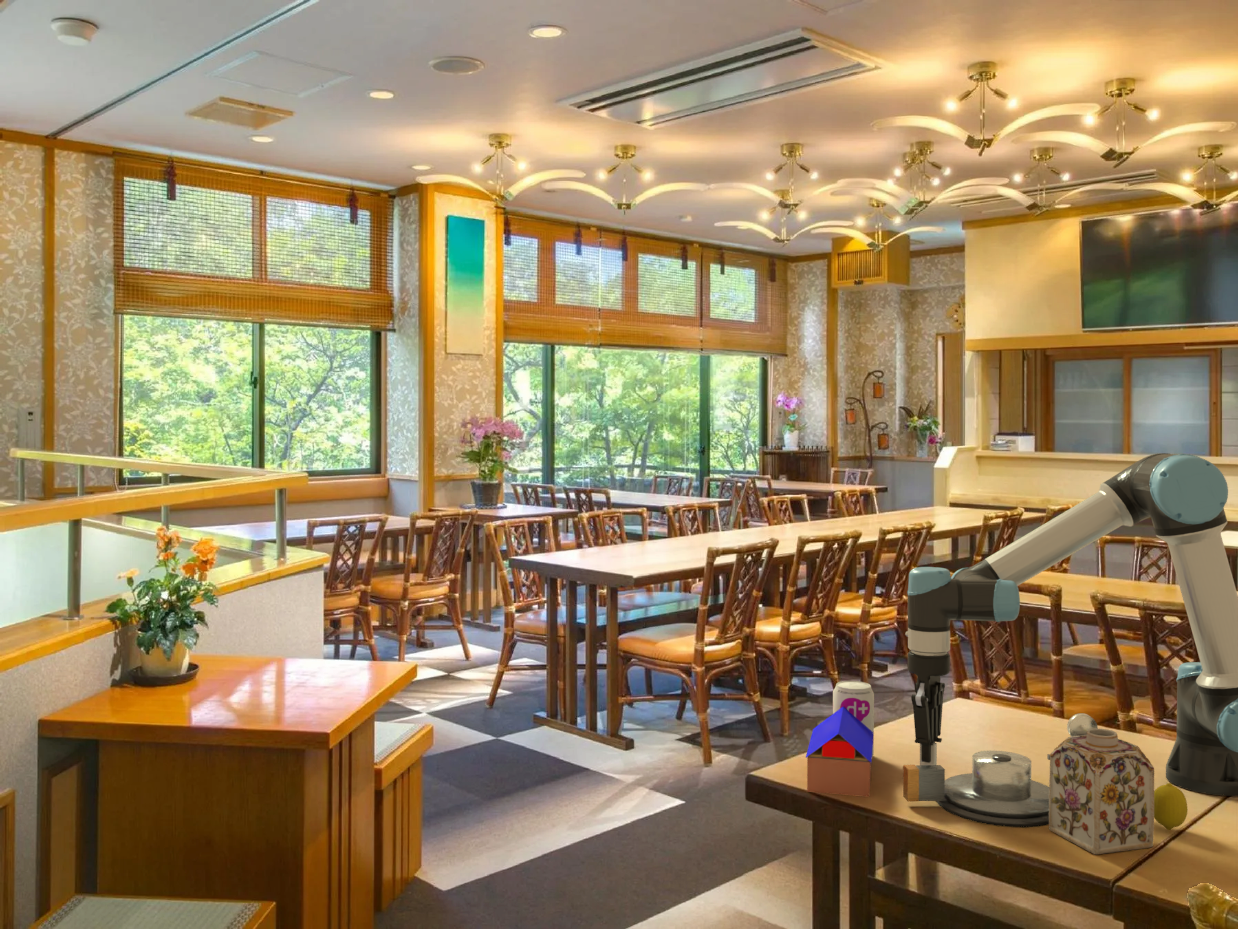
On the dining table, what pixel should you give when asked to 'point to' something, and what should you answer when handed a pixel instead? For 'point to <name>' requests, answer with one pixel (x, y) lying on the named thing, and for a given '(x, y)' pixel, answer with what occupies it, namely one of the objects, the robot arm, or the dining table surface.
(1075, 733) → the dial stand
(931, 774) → the turntable
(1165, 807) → the lemon
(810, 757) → the house
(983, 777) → the cover
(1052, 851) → the dining table surface
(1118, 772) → the decorative jar
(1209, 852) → the dining table surface
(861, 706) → the supplement can
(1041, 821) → the turntable base
